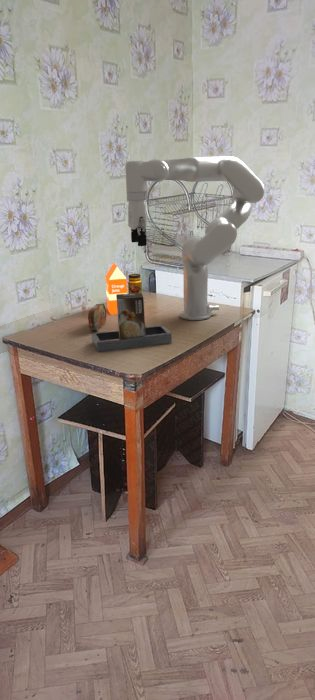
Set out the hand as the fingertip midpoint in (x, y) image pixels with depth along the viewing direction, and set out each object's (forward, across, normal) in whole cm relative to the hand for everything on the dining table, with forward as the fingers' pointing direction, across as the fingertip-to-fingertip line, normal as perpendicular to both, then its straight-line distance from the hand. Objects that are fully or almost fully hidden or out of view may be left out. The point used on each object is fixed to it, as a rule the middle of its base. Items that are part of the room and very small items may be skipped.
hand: (138, 244), depth 195 cm
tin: (+31, +2, -18) cm, 36 cm away
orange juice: (+31, -17, -6) cm, 36 cm away
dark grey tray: (+30, +24, -10) cm, 40 cm away
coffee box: (+29, +24, -10) cm, 39 cm away
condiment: (+31, -31, +5) cm, 44 cm away
